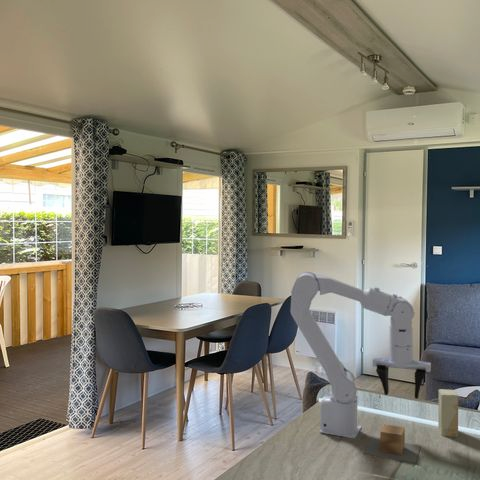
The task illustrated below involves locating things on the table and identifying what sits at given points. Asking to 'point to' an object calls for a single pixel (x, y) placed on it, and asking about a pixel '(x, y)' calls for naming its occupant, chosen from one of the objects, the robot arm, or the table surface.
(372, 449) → the mat
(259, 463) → the table surface
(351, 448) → the table surface
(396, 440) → the cube
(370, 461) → the table surface
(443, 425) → the box
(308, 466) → the table surface
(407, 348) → the robot arm
